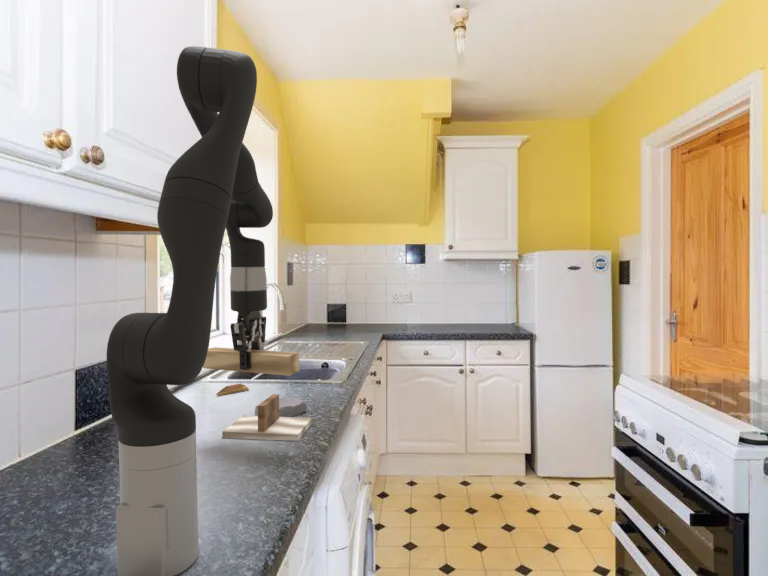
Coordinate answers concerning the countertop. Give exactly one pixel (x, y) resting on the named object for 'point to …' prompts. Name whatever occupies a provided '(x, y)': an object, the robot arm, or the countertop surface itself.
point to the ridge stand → (268, 424)
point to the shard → (233, 389)
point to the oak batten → (253, 361)
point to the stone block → (289, 407)
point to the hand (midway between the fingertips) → (250, 366)
